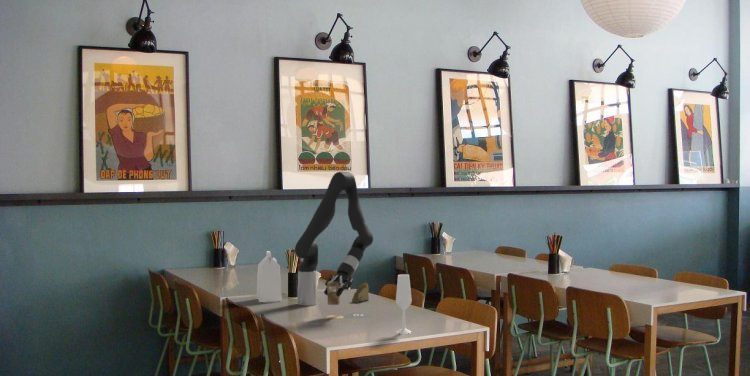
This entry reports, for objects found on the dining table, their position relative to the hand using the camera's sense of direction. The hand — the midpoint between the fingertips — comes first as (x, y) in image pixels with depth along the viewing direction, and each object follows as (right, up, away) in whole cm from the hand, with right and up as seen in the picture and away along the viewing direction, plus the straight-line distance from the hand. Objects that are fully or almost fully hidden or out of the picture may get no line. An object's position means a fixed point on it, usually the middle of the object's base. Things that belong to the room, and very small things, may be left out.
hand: (331, 294), depth 335 cm
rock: (+12, -11, +49) cm, 51 cm away
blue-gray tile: (+12, -11, +6) cm, 18 cm away
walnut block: (+1, -4, +1) cm, 5 cm away
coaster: (+1, -11, +1) cm, 11 cm away
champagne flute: (+32, -11, -31) cm, 46 cm away
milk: (-37, -11, +53) cm, 65 cm away
